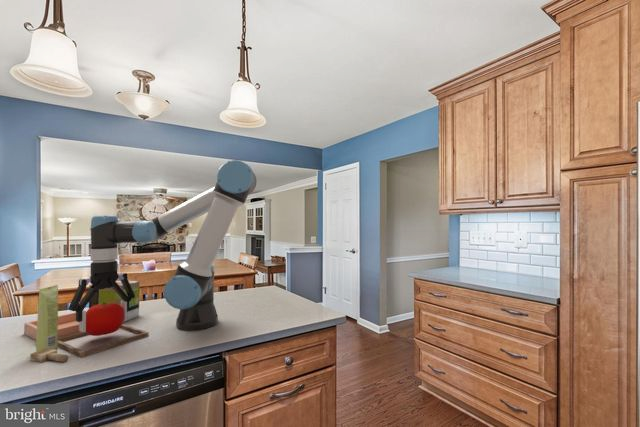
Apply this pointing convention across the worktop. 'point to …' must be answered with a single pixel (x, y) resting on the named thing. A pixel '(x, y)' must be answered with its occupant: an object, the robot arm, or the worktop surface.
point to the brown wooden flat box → (65, 326)
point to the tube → (47, 319)
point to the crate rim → (103, 347)
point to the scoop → (48, 355)
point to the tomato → (104, 319)
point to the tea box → (118, 298)
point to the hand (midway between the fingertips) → (104, 325)
